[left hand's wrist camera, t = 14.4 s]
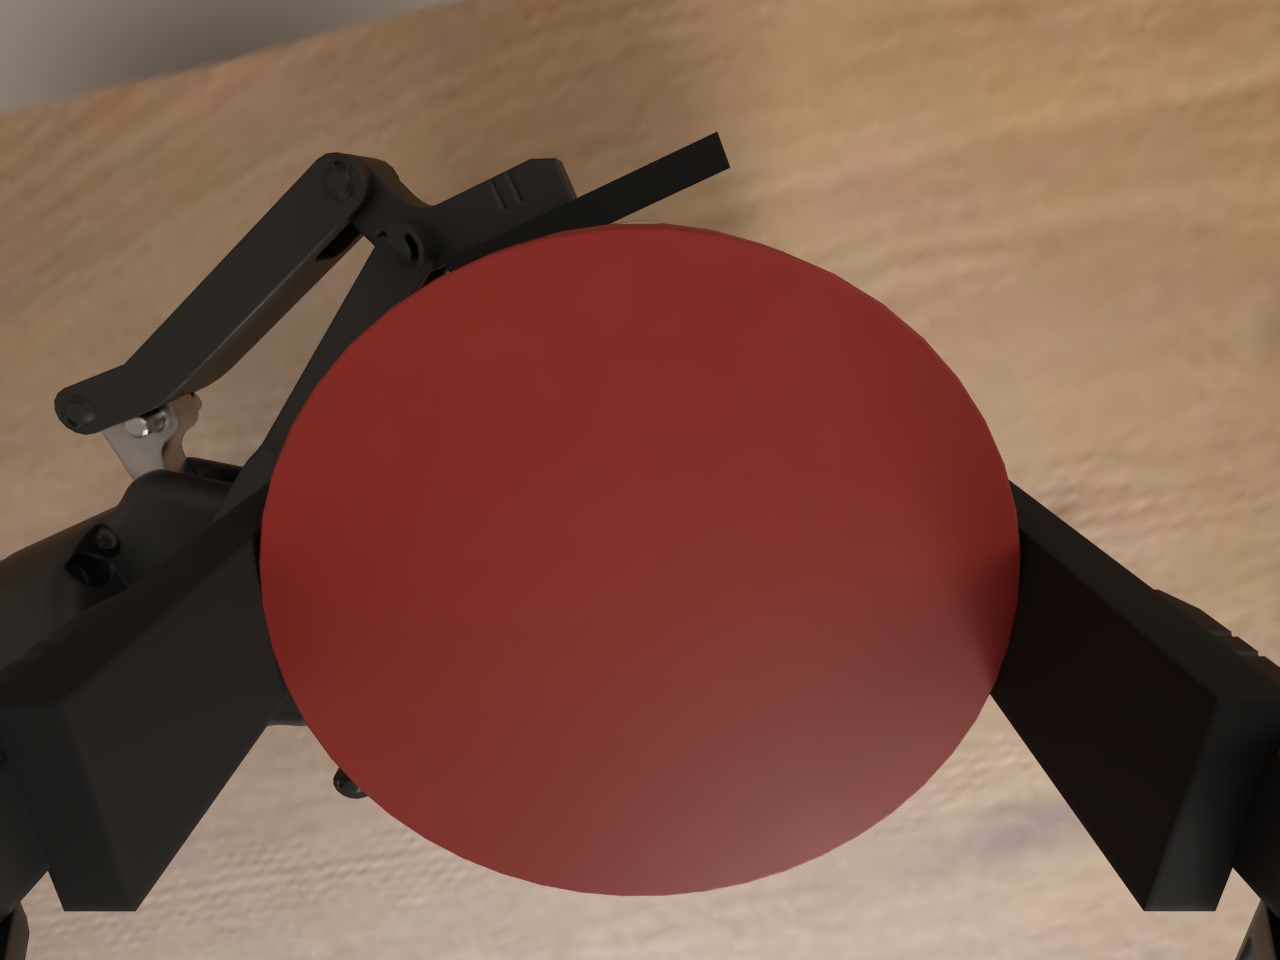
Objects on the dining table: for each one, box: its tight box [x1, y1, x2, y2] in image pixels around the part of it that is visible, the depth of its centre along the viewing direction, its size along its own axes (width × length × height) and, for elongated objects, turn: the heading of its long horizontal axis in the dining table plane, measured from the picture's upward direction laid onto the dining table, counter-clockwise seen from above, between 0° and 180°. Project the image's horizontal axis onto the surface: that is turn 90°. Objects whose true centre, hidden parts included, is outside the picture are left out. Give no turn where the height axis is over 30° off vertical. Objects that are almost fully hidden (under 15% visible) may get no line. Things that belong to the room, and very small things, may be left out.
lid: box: [259, 223, 1021, 896], centre depth 11 cm, size 11×11×2 cm
